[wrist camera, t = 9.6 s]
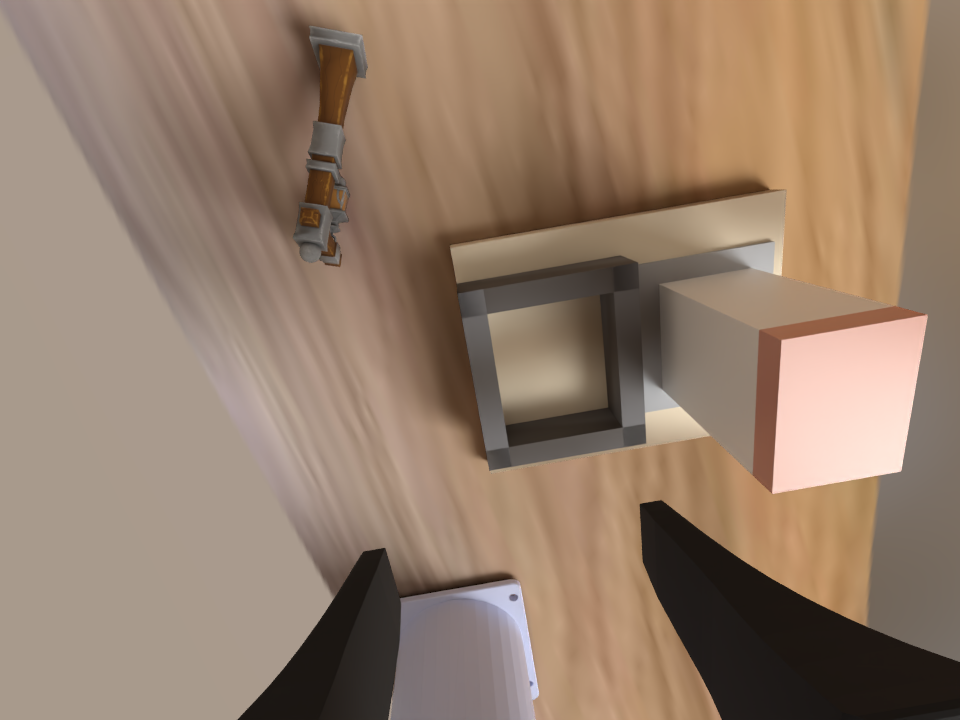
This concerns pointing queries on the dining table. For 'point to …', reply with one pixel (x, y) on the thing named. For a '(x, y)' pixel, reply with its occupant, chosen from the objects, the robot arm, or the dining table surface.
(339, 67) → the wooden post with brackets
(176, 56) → the dining table surface
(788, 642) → the robot arm
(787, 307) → the plug
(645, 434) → the board
